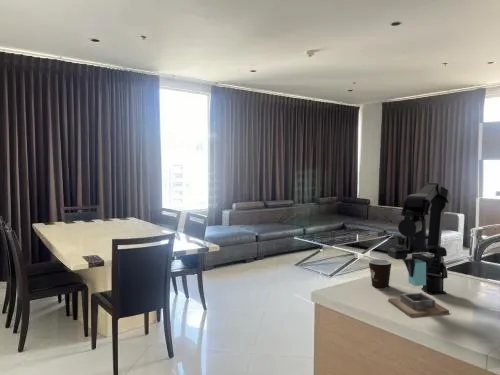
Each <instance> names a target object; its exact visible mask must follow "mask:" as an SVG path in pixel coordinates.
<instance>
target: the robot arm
mask: <svg viewBox="0 0 500 375" xmlns="http://www.w3.org/2000/svg"><path fill="white" fill-rule="evenodd" d="M451 201H452V196H451V193H450V191H449V189H447V188H446V187H443V186H442V184H441V183H438V182H426V183H424V186H423V187H422V188H421V189H420V190H419V191H418V192H417V193H411V194H408V195H407V197H406V198H405V199H404V201H403V206H402V210H401V214H400V215H401V216H402V217H403V219H402V220H401V221H399V223H398V226H397V229H398V232H399V233H400V234H401V235H402V236H403V237H402V236H399V235H398V236H395V237H394V245H395V246H396V247H390V248H389V249H388V251H387V255H388V257H390V258H392V259H394V260H402V261H403V263H404V264H405V267H406V269H407V274H408V276H409V275H410V277H413V273H414V262H415V260H416V259H414V258H413V256H417V255H418V256H419V257H420V260H422V261H424V262H426V285H423V286H422V287H421V288H420V290H422V291H424V292H426V293H428V294H429V295H441V294H442V295H443V294H447V291H446V290H444V280H445V279H448V278H449V277H448V275H449V274H448V268H447V266H446V263H445V258H444V257H447V255H448V252H447V249H446V248H445V247H443V246H441V242H442V233H443V231H442V230H443V218H444V214H445V213H446V212H447V210H448V209H449V204H450V203H451ZM428 215H429V221H428V222H429V223H428V234H427V217H428ZM398 246H399V247H398Z"/></svg>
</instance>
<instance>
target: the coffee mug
mask: <svg viewBox="0 0 500 375" xmlns="http://www.w3.org/2000/svg"><path fill="white" fill-rule="evenodd" d="M368 267H369V272H370V278H371V280H370V281H371V286H372V287H373V288H376V289H388V288H389V287H390V286H389V285H390V278H391V270H392V269H391V268H392V261H391V260H387V259H382V258H381V259H380V258H375V259H370V260H369V261H368Z"/></svg>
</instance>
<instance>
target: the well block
mask: <svg viewBox="0 0 500 375" xmlns="http://www.w3.org/2000/svg"><path fill="white" fill-rule="evenodd" d="M399 296H400V297H394V298H387V302H388V303H389V304H391V306H394V307H395V308H397V309H398V310H399V311H401V312H402V313H404V314H405V315H406V316H408V317H410V318H411V317H413V318H414V317H421V316H422V317H424V316H434V315H435V316H436V315H445V314H447V315H449V314H450V310H449V309H447V308H445V307H444V306H443V305H441V304H439V303H437V302H436V300H435V299H433V298H432V297H430V296H428V295H426V294H424V293H423V292H413V293H412V292H411V293H400V295H399Z"/></svg>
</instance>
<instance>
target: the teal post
mask: <svg viewBox="0 0 500 375" xmlns="http://www.w3.org/2000/svg"><path fill="white" fill-rule="evenodd" d="M408 283H409V284H411V285H412V286H414V287H419V286H420V287H421V286H422V287H423V285H426V262H424V261H422V260H421V258H420V259H419V258H418V259H415V262H414V273H413V277H410V275H409V274H408Z"/></svg>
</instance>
